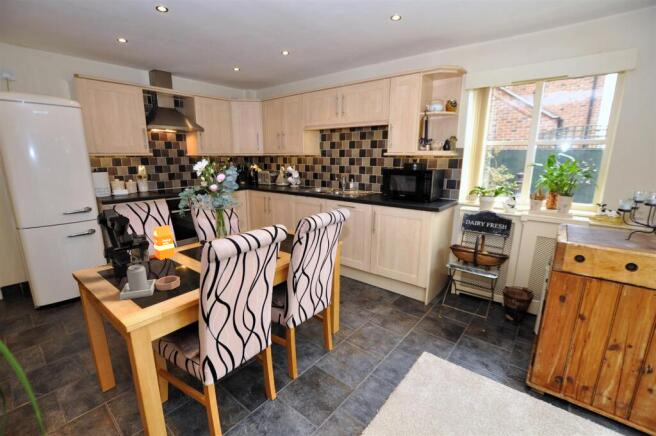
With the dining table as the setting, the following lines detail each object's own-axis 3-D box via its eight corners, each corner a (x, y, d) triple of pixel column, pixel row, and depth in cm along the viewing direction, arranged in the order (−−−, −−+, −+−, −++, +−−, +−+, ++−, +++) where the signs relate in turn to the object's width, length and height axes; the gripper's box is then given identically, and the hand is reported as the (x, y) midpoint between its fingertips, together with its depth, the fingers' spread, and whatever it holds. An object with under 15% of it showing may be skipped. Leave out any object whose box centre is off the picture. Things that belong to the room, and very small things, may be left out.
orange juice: (155, 257, 194) (151, 226, 190) (169, 253, 201) (166, 224, 196) (160, 259, 189) (156, 228, 185) (175, 256, 196) (171, 226, 191)
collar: (154, 291, 146) (154, 285, 145) (158, 283, 156) (157, 277, 155) (178, 288, 150) (178, 282, 149) (180, 280, 159) (179, 274, 159)
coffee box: (131, 263, 183) (128, 237, 179) (132, 260, 188) (129, 235, 185) (149, 261, 187) (145, 235, 183) (149, 258, 192) (146, 233, 189)
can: (134, 295, 141) (131, 270, 138) (126, 291, 145) (123, 267, 142) (151, 288, 147) (148, 265, 144) (143, 285, 151) (139, 262, 148)
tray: (120, 300, 138) (119, 294, 137) (127, 288, 149) (126, 283, 149) (152, 295, 142) (151, 289, 142) (156, 284, 154) (155, 279, 153)
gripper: (100, 231, 140) (110, 259, 134) (145, 224, 153) (156, 249, 148) (99, 244, 146) (108, 271, 141) (142, 236, 160) (152, 261, 155)
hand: (132, 263), depth 146 cm, fingers open, 9 cm apart
